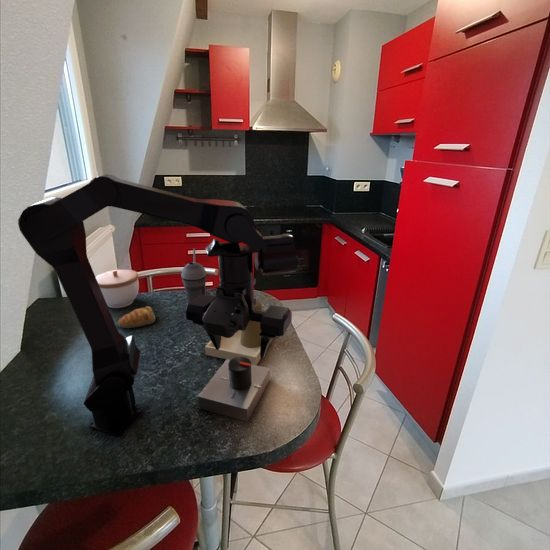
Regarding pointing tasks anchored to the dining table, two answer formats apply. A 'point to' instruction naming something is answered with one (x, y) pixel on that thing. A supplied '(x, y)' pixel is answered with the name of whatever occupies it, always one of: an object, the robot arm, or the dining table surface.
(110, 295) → the lidded bowl
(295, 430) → the dining table surface
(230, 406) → the stove panel
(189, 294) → the beverage cup
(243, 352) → the wooden tray
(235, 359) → the stove knob
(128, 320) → the pastry
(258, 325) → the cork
